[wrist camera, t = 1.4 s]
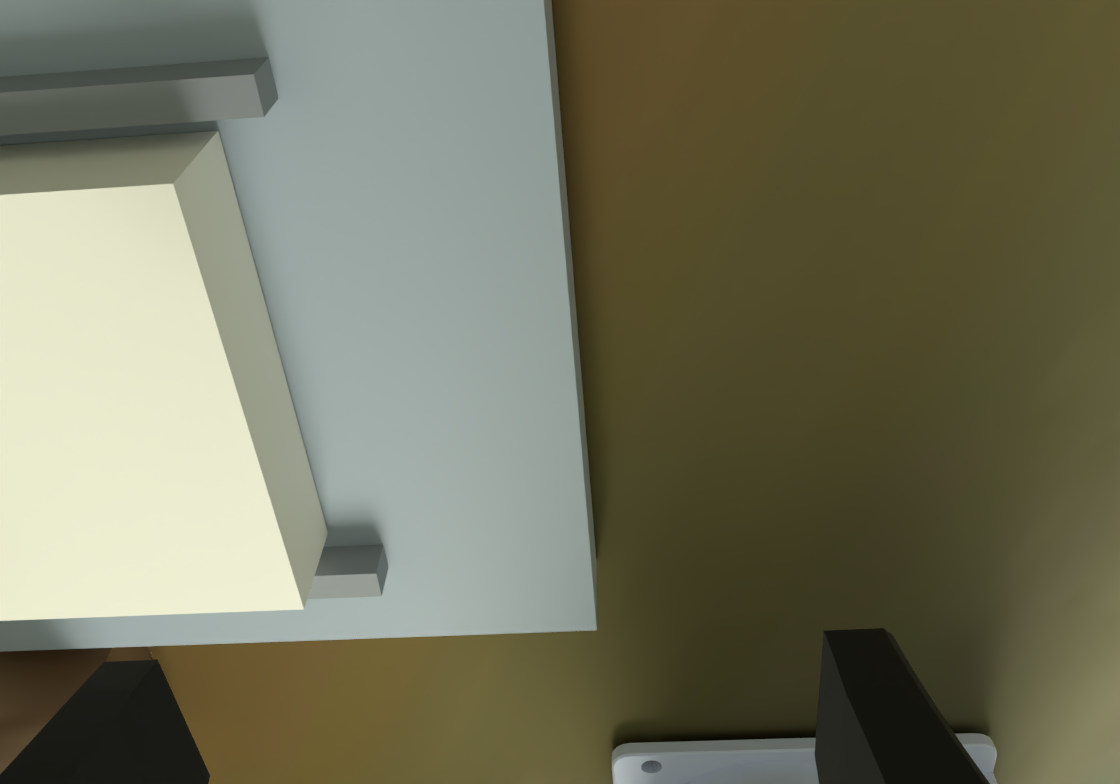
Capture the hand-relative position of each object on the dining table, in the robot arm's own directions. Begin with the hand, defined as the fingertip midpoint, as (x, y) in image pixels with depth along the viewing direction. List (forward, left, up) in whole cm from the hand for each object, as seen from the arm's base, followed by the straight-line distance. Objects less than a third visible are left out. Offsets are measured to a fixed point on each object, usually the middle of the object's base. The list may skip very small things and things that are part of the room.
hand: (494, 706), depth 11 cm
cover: (+8, 0, -7) cm, 11 cm away
